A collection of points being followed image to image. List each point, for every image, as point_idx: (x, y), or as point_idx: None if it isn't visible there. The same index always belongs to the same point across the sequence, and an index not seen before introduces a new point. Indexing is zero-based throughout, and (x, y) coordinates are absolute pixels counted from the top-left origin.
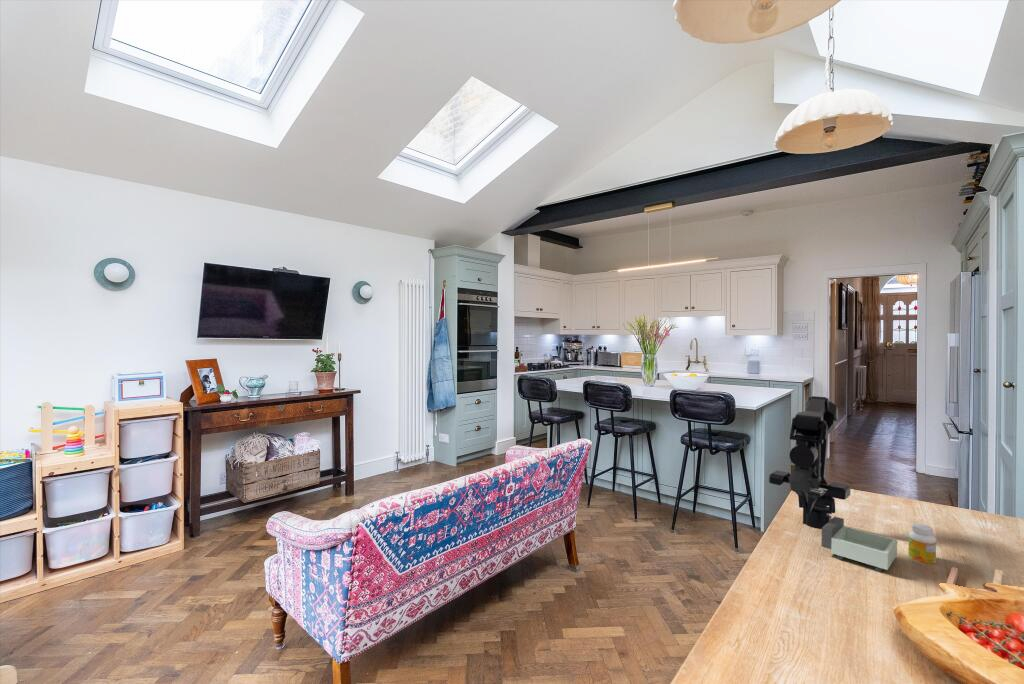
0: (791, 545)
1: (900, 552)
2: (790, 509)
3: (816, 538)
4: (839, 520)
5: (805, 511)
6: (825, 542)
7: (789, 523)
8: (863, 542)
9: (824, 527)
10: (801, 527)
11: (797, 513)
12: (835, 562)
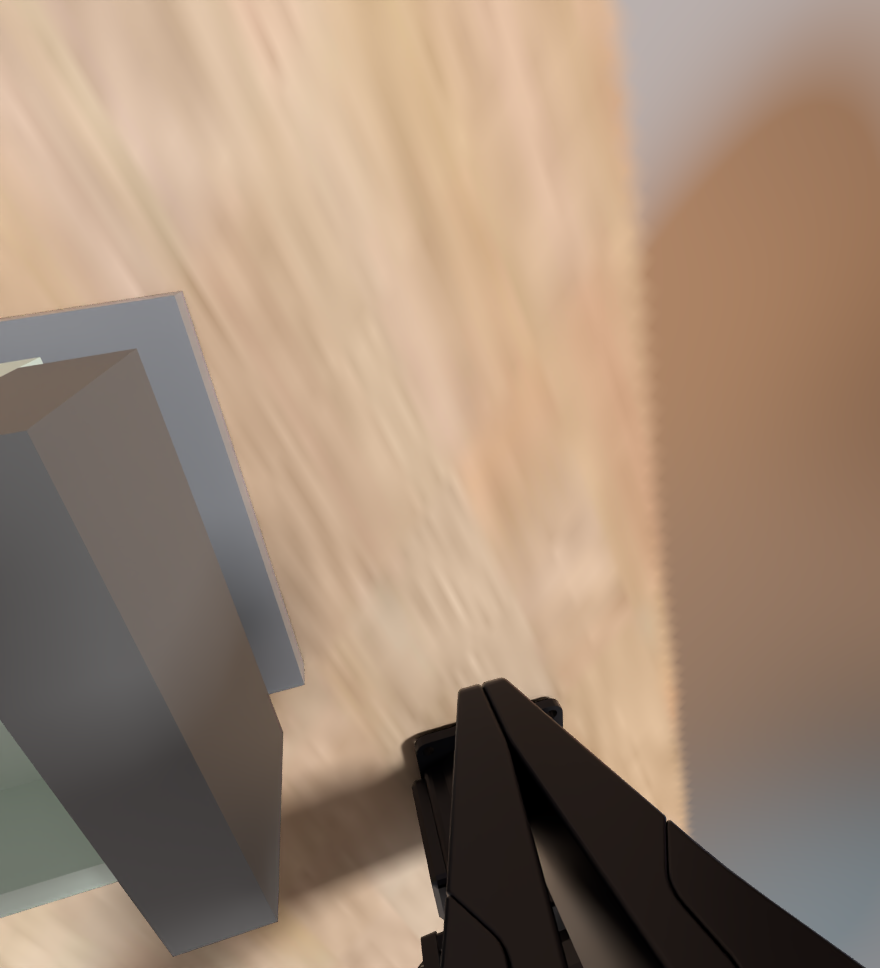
0: (479, 374)
1: None
2: None
3: (422, 653)
4: (153, 889)
5: (516, 703)
6: (66, 372)
7: (628, 696)
8: (19, 788)
9: (24, 495)
10: None
11: None
12: None
